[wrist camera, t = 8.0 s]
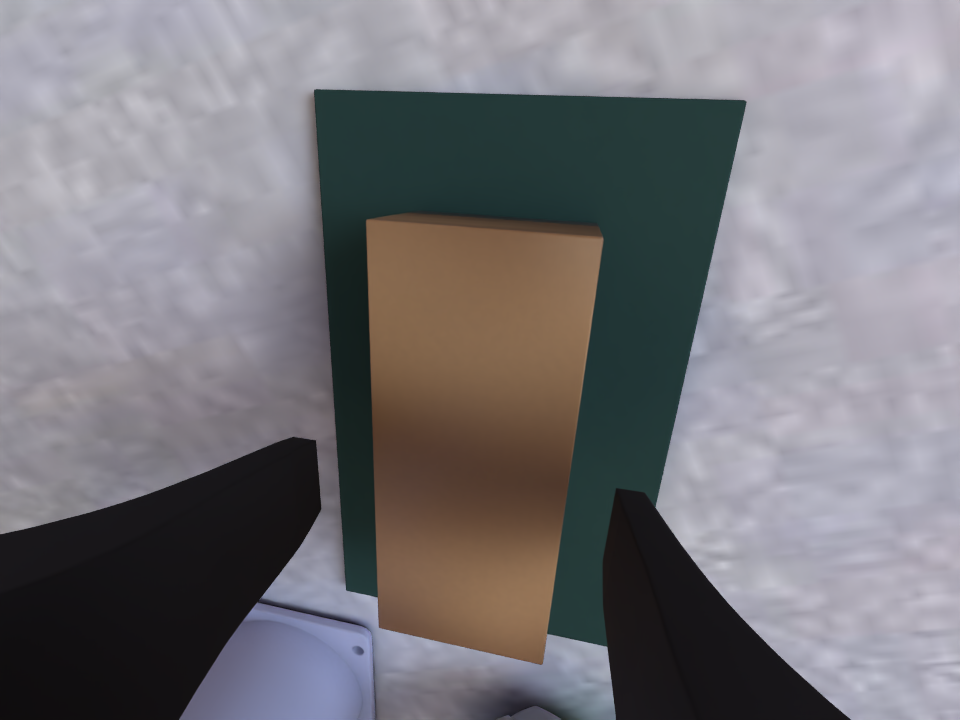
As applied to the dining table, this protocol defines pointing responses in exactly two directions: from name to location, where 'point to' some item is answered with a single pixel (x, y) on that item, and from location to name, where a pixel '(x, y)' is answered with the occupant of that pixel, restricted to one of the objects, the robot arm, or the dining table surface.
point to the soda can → (531, 715)
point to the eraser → (475, 418)
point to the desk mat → (551, 196)
